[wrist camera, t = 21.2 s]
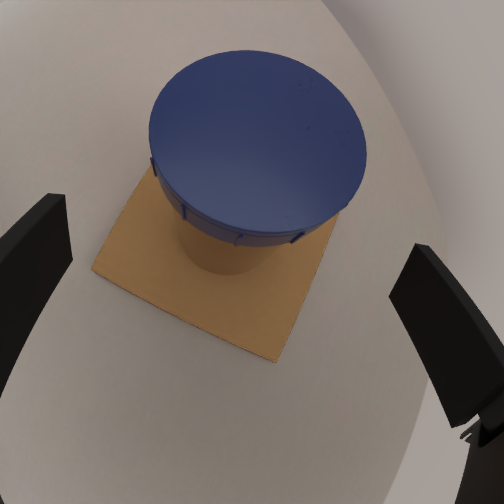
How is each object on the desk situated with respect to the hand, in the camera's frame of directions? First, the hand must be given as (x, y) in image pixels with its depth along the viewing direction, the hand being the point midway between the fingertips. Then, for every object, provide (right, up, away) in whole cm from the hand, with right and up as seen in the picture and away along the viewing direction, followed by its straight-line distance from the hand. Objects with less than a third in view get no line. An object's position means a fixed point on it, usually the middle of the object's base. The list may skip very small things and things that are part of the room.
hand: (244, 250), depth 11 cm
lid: (+1, +4, -1) cm, 4 cm away
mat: (-2, +2, +11) cm, 11 cm away
